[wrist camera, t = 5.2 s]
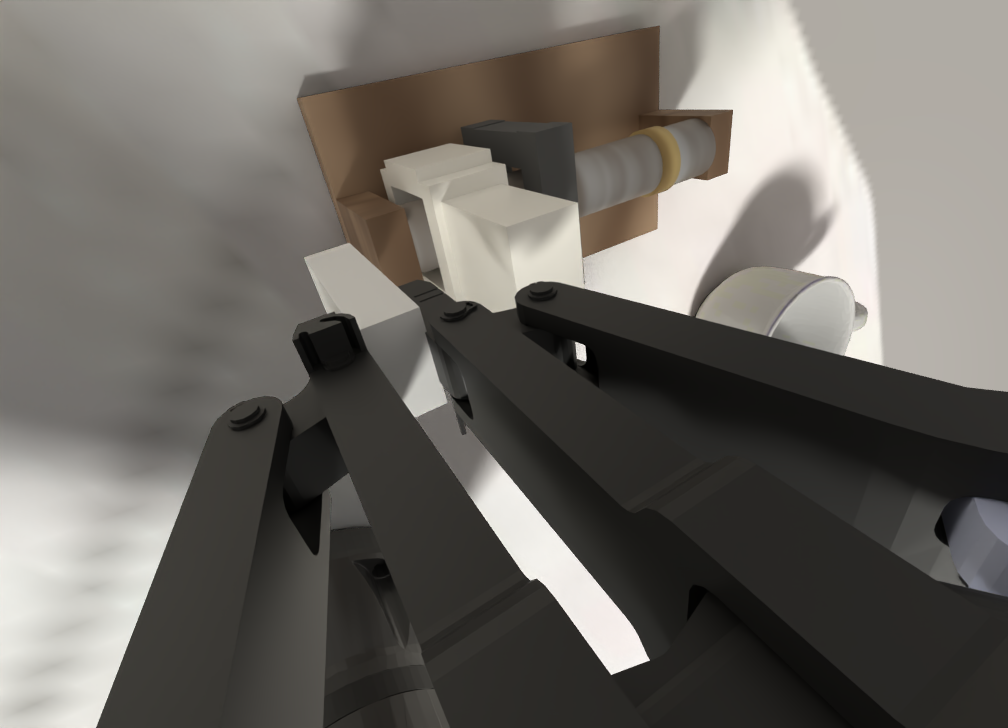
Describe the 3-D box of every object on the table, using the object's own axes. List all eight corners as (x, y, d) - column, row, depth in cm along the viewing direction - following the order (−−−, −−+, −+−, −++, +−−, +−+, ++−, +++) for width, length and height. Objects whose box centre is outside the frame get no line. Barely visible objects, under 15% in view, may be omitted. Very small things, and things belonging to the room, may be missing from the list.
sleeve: (412, 282, 23) (521, 371, 16) (376, 158, 20) (490, 190, 12) (466, 262, 24) (595, 337, 17) (440, 141, 21) (583, 162, 13)
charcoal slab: (486, 260, 25) (554, 296, 20) (460, 127, 22) (535, 132, 17) (512, 251, 26) (584, 284, 21) (491, 119, 22) (572, 122, 18)
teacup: (659, 386, 40) (742, 436, 34) (687, 257, 36) (789, 289, 29) (764, 357, 47) (849, 394, 41) (799, 244, 42) (903, 268, 36)
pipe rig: (377, 328, 26) (420, 382, 21) (296, 98, 20) (329, 94, 15) (646, 226, 32) (729, 247, 27) (646, 28, 26) (751, 9, 21)
